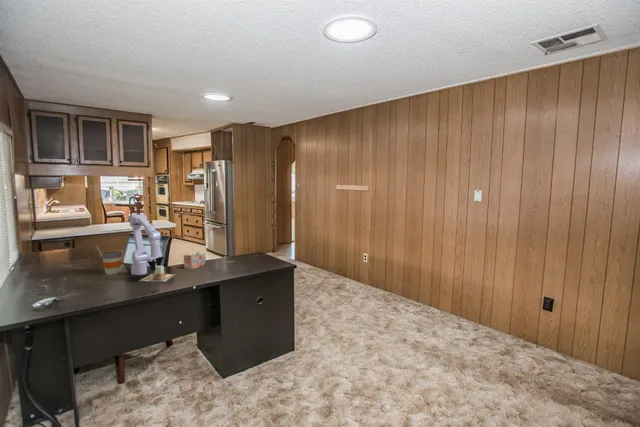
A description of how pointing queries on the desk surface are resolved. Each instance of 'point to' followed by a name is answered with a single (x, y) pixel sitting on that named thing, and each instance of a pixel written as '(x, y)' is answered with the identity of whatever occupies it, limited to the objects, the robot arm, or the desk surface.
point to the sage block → (159, 269)
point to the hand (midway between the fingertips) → (156, 269)
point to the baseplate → (150, 278)
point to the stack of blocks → (194, 260)
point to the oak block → (159, 276)
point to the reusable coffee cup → (112, 262)
